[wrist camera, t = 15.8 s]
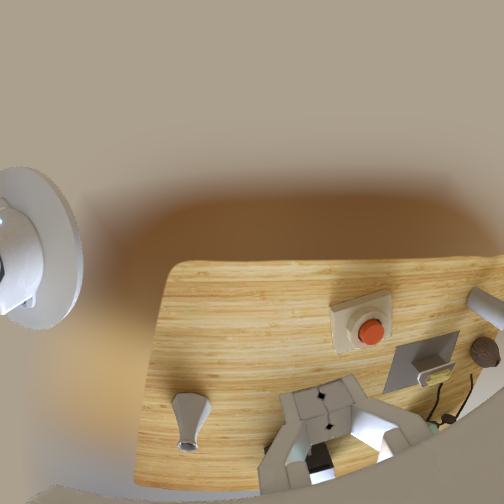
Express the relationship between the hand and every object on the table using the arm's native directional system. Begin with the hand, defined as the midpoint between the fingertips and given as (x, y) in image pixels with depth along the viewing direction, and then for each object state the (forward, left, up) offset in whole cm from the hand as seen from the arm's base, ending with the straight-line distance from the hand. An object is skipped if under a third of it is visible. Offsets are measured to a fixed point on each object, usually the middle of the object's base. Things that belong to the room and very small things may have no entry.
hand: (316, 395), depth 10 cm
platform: (+29, -33, -29) cm, 53 cm away
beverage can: (+42, -22, -29) cm, 56 cm away
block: (+14, -17, -29) cm, 36 cm away
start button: (+14, -17, -25) cm, 33 cm away
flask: (-17, -26, -29) cm, 43 cm away
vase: (+47, -37, -29) cm, 67 cm away
